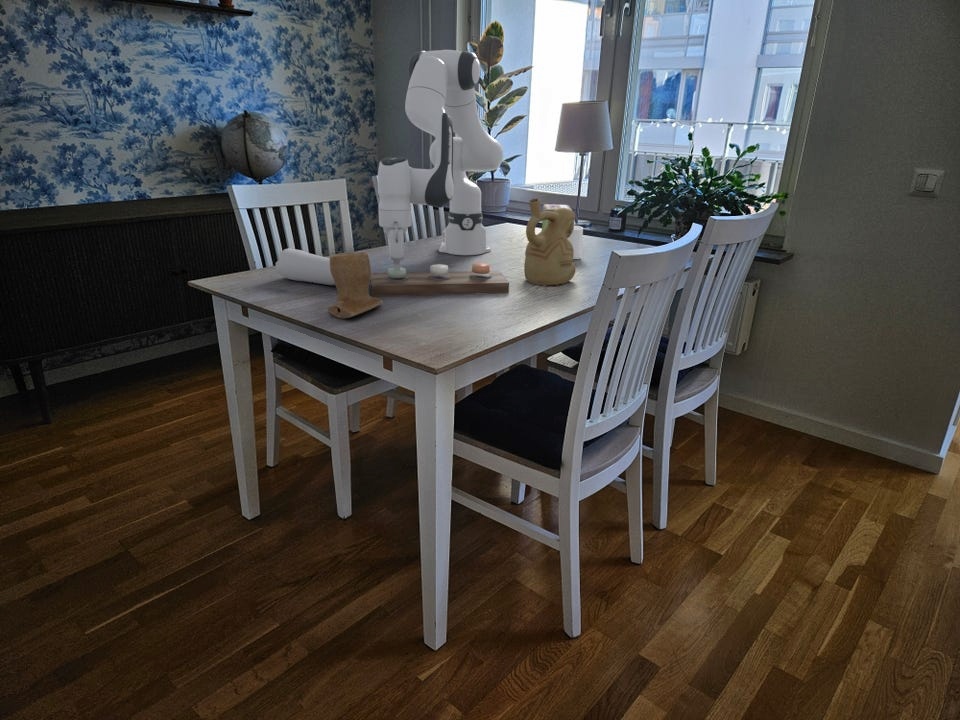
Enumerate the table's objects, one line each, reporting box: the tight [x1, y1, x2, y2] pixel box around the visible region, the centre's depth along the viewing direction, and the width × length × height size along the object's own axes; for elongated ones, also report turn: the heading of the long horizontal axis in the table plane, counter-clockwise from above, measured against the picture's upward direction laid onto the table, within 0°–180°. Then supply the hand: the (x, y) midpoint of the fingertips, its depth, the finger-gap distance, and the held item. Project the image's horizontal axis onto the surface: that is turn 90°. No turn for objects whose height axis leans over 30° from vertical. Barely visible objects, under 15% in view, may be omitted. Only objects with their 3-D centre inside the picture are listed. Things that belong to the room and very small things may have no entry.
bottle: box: [275, 247, 372, 286], centre depth 180 cm, size 9×9×30 cm
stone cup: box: [326, 251, 384, 319], centre depth 155 cm, size 15×12×15 cm
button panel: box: [371, 270, 510, 297], centre depth 179 cm, size 14×38×3 cm, turn 99°
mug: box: [567, 225, 584, 260], centre depth 216 cm, size 9×12×11 cm
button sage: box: [387, 266, 407, 278], centre depth 176 cm, size 5×5×2 cm
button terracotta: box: [471, 262, 491, 274], centre depth 180 cm, size 5×5×2 cm
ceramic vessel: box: [523, 198, 577, 286], centre depth 185 cm, size 17×20×25 cm
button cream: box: [430, 263, 449, 275], centre depth 178 cm, size 5×5×2 cm
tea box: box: [541, 203, 573, 231], centre depth 237 cm, size 15×10×15 cm, turn 178°
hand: (396, 269), depth 176 cm, fingers closed, pressing on button sage
